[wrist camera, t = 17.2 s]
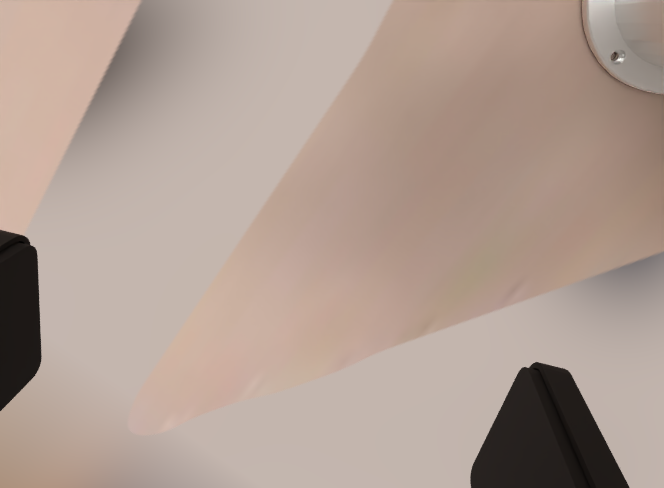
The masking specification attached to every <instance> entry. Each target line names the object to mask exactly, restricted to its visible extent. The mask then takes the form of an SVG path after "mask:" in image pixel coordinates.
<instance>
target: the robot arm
mask: <svg viewBox="0 0 664 488" xmlns="http://www.w3.org/2000/svg"><path fill="white" fill-rule="evenodd" d="M582 18H583V27H584V31H585V34H586V38H587V41H588V44H589V47H590V49H591V50H592V52H593V54H594V55H595V57H596V59H597V60H598V62H599V63H600V64H601V65H602V66H603V67H604V68H605V69H606V70H607V72H608V73H609V74H610V75H612V76H613V77H615V78H616V79H618V80H619V81H621V82H623V83H624V84H626V85H629V86H631V87H634V88H637V89H639V90H642V91H647V92H651V93H656V94H664V0H582ZM613 52H615V53H616V57H615V59H613V60H611V55H612V54H613ZM37 260H38V259H37V251H36V249H35V247H33V246H31V245H30V242H29V240H28V238H26V237H25V236H23V235H19V234H15V233H11V232H7V231H2V230H0V411H1V410H2V409H3V408H4V407H5V406H6V405H7V404H8V403H9V402H10V401H11V400H12V399H13V398H14V397H15V396H16V395H17V394H18V393H19V392H20V391H21V389H23V388H24V386H25V385H26V384H27V383H28V382H29V381H30V380H31V379H32V378H33V377H34V376H35V374H36V373H37V371H38V369H39V367H40V363H41V337H40V311H39V285H38V261H37ZM471 488H629V486H628V484H627V482H626V480H625V478H624V476H623V474H622V472H621V470H620V469H619V467H618V464H617V463H616V461H615V459H614V457H613V455H612V453H611V451H610V449H609V447H608V445H607V443H606V441H605V439H604V437H603V435H602V434H601V432H600V430H599V428H598V426H597V424H596V422H595V420H594V418H593V416H592V414H591V412H590V410H589V408H588V406H587V404H586V403H585V401H584V399H583V397H582V395H581V393H580V391H579V389H578V387H577V385H576V383H575V381H574V379H573V378H572V375H571V374H570V372H569V371H568V370H566V369H563V368H558V367H554V366H550V365H546V364H542V363H538V362H536V363H533V364H532V365H531V366H530V367H529V368H526V367H524V368H522V369H521V370H520V371H519V373H518V374H517V377H516V378H515V381H514V383H513V385H512V387H511V389H510V391H509V393H508V395H507V397H506V399H505V401H504V403H503V405H502V407H501V409H500V411H499V413H498V415H497V417H496V419H495V421H494V423H493V425H492V427H491V429H490V431H489V433H488V435H487V437H486V439H485V441H484V444H483V445H482V447H481V449H480V452H479V454H478V456H477V458H476V460H475V462H474V464H473V466H472V470H471Z"/></svg>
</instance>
